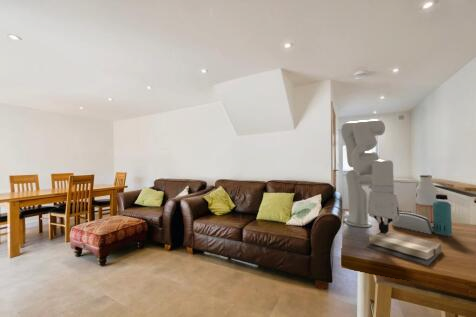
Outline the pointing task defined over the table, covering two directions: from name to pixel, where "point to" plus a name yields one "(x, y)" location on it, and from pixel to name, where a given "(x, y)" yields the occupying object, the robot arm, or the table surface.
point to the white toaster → (413, 222)
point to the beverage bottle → (442, 216)
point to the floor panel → (403, 255)
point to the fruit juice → (426, 197)
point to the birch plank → (402, 246)
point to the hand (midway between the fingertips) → (383, 232)
